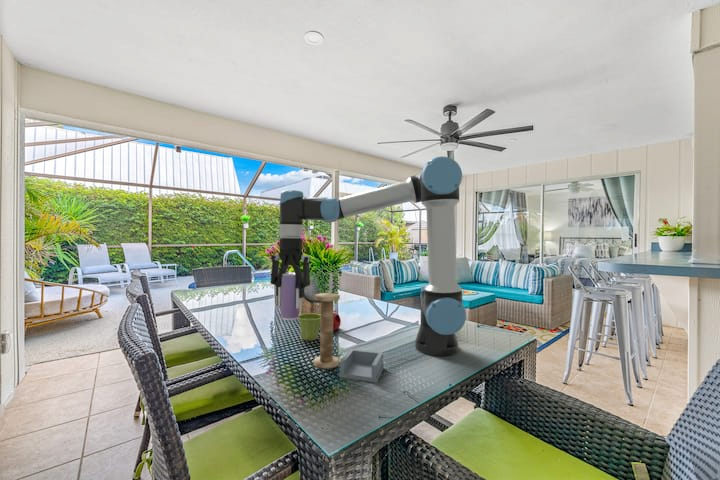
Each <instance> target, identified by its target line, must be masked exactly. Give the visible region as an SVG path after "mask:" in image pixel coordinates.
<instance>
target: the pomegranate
mask: <svg viewBox="0 0 720 480" xmlns="http://www.w3.org/2000/svg"><path fill="white" fill-rule="evenodd" d="M341 319H342V318H341V317H340V315H339V314H338V313H337V310H333V332H334V331H337V330H338V329H339V328H340V327H341V324H342V323H341V322H342V321H341ZM319 328H320V325H319Z"/></svg>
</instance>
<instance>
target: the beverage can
mask: <svg viewBox="0 0 720 480" xmlns="http://www.w3.org/2000/svg"><path fill="white" fill-rule="evenodd" d="M297 287H298V283H297V279H296V274H295V272H289V271H288V272H287V271H286V273H284V274H283V273H282V276H281V307H280V317H281V319H282V320H284V321H285V320H286V321H293V320H297V319H298V316H299V315H300V308H296V288H297Z"/></svg>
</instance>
